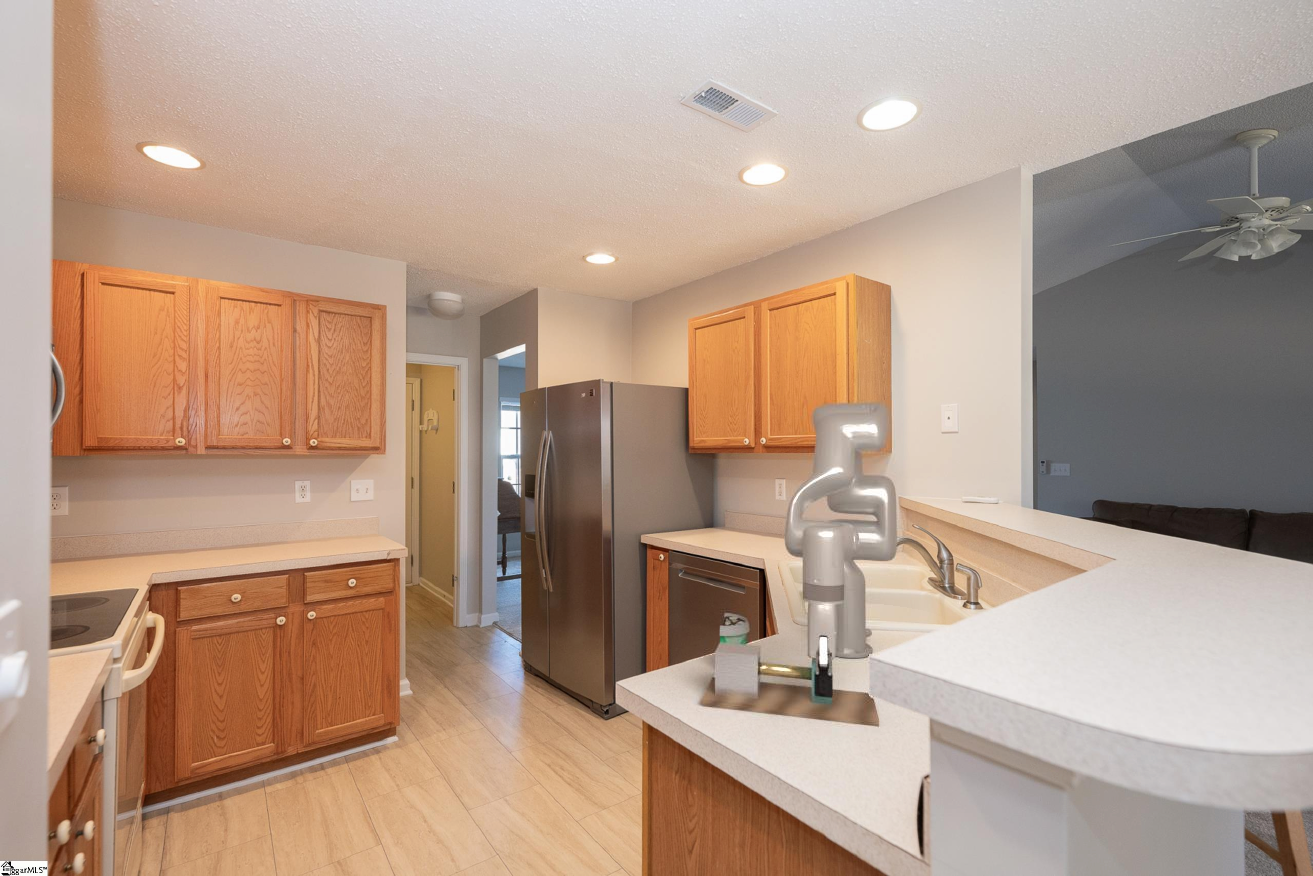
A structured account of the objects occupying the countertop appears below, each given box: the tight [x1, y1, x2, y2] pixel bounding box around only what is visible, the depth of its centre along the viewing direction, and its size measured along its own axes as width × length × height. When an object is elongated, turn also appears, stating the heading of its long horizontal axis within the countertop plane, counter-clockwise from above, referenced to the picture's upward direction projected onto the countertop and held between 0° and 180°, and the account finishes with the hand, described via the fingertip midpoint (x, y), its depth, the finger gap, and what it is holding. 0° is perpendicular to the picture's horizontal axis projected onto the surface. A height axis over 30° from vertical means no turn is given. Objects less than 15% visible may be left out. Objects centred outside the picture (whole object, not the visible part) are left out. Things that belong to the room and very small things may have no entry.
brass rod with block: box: [758, 656, 833, 705], centre depth 112 cm, size 18×4×7 cm, turn 74°
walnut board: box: [701, 676, 880, 727], centre depth 112 cm, size 31×12×1 cm, turn 75°
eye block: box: [714, 642, 761, 699], centre depth 114 cm, size 8×6×8 cm
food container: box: [719, 612, 751, 645], centre depth 133 cm, size 12×6×10 cm, turn 168°
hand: (823, 691), depth 110 cm, fingers closed on brass rod with block, 3 cm apart
